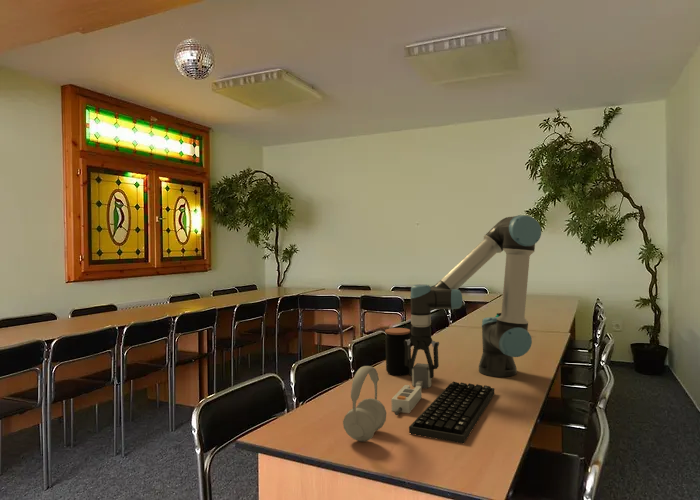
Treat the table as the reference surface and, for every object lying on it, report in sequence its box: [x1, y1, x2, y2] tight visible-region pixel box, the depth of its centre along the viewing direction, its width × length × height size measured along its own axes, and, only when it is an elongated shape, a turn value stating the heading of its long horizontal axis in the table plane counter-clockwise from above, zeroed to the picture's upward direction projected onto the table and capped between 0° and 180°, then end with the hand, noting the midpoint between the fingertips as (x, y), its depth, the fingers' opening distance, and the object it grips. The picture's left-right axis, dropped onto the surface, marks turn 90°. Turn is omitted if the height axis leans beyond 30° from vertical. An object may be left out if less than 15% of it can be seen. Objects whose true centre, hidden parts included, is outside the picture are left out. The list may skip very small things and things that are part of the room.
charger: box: [413, 362, 429, 389], centre depth 178 cm, size 5×9×8 cm, turn 157°
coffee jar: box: [384, 327, 412, 376], centre depth 199 cm, size 11×11×18 cm
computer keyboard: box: [408, 381, 495, 444], centre depth 152 cm, size 45×16×4 cm, turn 153°
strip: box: [390, 384, 423, 416], centre depth 158 cm, size 6×20×5 cm, turn 157°
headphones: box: [342, 365, 387, 442], centre depth 135 cm, size 19×9×20 cm, turn 157°
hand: (421, 385), depth 179 cm, fingers open, 5 cm apart
